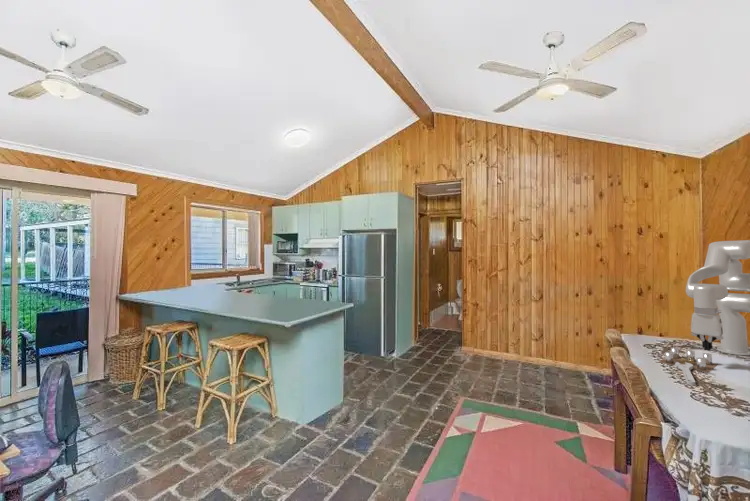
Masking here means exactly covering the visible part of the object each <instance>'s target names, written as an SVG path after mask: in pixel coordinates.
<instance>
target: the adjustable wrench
mask: <svg viewBox="0 0 750 501" xmlns="http://www.w3.org/2000/svg"><path fill="white" fill-rule="evenodd" d="M674 368H675V369H678V370H681V371H682V373H683V375H684V380H685V382H686V384H687V385H690V386H696V380H695V378H694V376H693V374H692V372H691V370H694V369H693V365H692V364H690V363H687V362H685V365H681V364H680V363H679V362H676V363H675V366H674Z"/></svg>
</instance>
